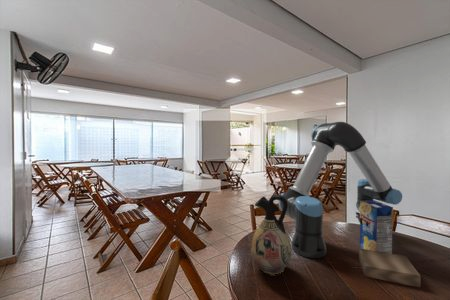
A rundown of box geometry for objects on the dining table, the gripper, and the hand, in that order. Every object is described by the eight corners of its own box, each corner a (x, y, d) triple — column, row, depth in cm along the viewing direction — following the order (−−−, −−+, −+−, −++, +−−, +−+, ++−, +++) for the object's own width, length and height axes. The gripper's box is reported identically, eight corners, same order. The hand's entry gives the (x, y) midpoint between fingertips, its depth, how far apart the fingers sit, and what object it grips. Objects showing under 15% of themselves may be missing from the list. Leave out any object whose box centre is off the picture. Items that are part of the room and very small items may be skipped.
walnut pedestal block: (364, 276, 79) (365, 265, 79) (358, 257, 92) (358, 248, 92) (420, 287, 73) (420, 276, 73) (405, 265, 86) (405, 255, 86)
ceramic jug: (247, 277, 79) (246, 196, 78) (254, 256, 94) (254, 188, 93) (295, 286, 74) (296, 200, 73) (295, 262, 89) (296, 190, 88)
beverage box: (376, 259, 91) (376, 207, 90) (359, 246, 102) (360, 200, 101) (392, 258, 91) (393, 207, 90) (373, 246, 102) (374, 200, 101)
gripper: (389, 222, 109) (406, 241, 88) (348, 217, 116) (355, 234, 95) (389, 207, 109) (406, 223, 87) (349, 203, 116) (355, 217, 95)
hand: (380, 228), depth 91 cm, fingers open, 5 cm apart
